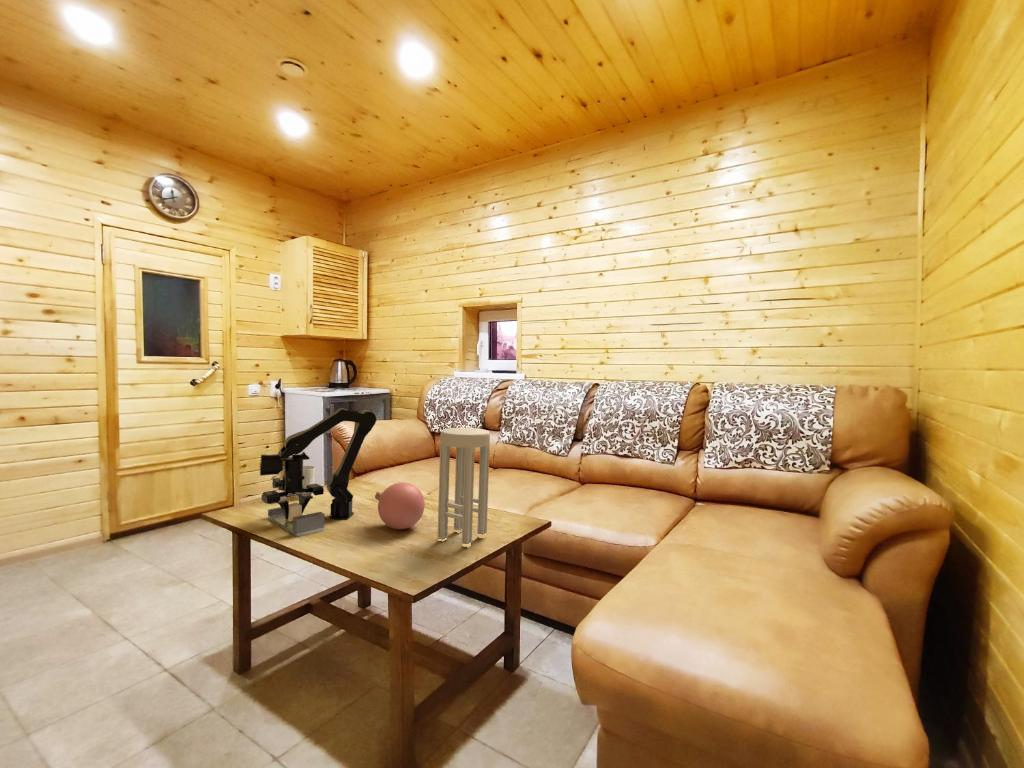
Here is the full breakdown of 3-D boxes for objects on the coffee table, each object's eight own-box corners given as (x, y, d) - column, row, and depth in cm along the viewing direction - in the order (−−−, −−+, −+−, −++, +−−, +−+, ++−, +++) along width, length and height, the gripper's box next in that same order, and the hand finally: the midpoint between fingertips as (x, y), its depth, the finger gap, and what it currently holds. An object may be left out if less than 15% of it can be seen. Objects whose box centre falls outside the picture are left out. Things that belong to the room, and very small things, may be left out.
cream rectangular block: (284, 518, 163) (284, 504, 162) (296, 516, 165) (296, 502, 165) (295, 525, 156) (295, 511, 156) (307, 522, 159) (308, 508, 159)
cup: (309, 500, 188) (310, 470, 188) (289, 499, 188) (290, 469, 188) (318, 494, 196) (318, 466, 196) (299, 494, 196) (299, 465, 196)
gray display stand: (267, 518, 167) (268, 502, 166) (294, 512, 173) (294, 497, 173) (296, 537, 150) (296, 519, 150) (324, 530, 157) (324, 513, 156)
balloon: (394, 514, 175) (395, 473, 174) (433, 527, 163) (434, 482, 162) (359, 525, 162) (360, 480, 161) (398, 540, 150) (399, 492, 150)
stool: (456, 527, 164) (459, 426, 162) (495, 536, 156) (498, 430, 155) (428, 541, 150) (431, 431, 148) (469, 552, 143) (473, 436, 141)
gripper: (310, 465, 174) (310, 507, 175) (255, 472, 161) (255, 517, 161) (324, 470, 166) (323, 514, 167) (268, 478, 153) (267, 526, 154)
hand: (293, 518), depth 163 cm, fingers closed on cream rectangular block, 4 cm apart
